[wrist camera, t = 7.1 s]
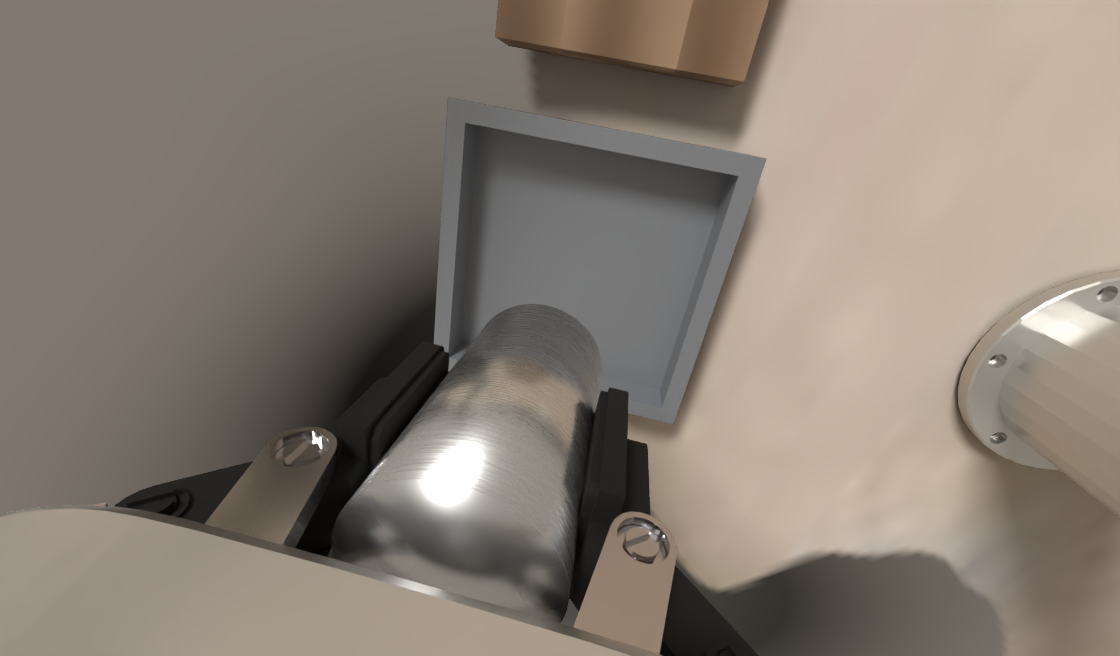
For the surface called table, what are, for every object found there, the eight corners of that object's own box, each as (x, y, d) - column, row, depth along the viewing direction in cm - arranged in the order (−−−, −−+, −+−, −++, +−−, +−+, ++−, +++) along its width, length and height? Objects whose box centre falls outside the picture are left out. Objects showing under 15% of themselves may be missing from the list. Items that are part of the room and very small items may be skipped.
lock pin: (615, 321, 14) (593, 523, 7) (586, 430, 16) (545, 679, 9) (482, 290, 14) (326, 451, 7) (469, 401, 16) (335, 617, 9)
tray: (751, 155, 24) (766, 158, 21) (670, 398, 31) (673, 424, 28) (468, 101, 25) (447, 97, 22) (449, 347, 32) (432, 367, 29)
